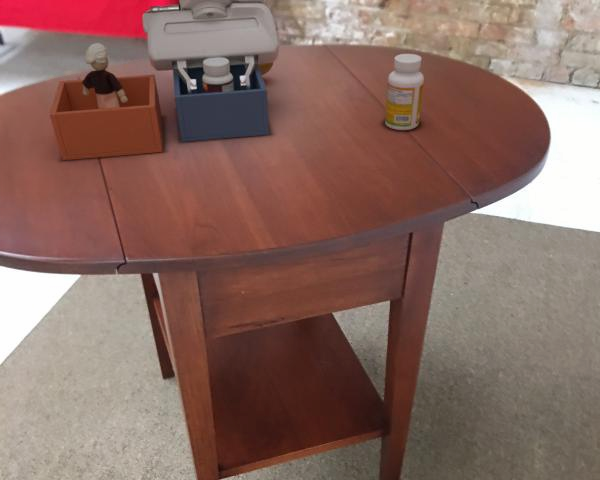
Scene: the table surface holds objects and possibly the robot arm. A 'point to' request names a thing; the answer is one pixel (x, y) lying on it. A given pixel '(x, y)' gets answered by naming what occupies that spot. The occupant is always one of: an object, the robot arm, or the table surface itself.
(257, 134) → the slate bin
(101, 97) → the grandmother figurine
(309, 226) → the table surface
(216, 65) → the pill bottle
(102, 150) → the terracotta bin
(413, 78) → the supplement bottle
